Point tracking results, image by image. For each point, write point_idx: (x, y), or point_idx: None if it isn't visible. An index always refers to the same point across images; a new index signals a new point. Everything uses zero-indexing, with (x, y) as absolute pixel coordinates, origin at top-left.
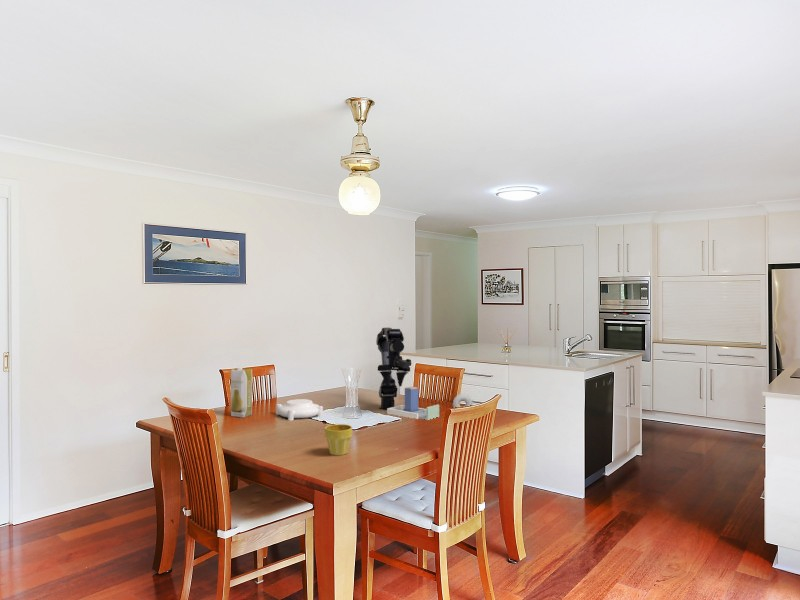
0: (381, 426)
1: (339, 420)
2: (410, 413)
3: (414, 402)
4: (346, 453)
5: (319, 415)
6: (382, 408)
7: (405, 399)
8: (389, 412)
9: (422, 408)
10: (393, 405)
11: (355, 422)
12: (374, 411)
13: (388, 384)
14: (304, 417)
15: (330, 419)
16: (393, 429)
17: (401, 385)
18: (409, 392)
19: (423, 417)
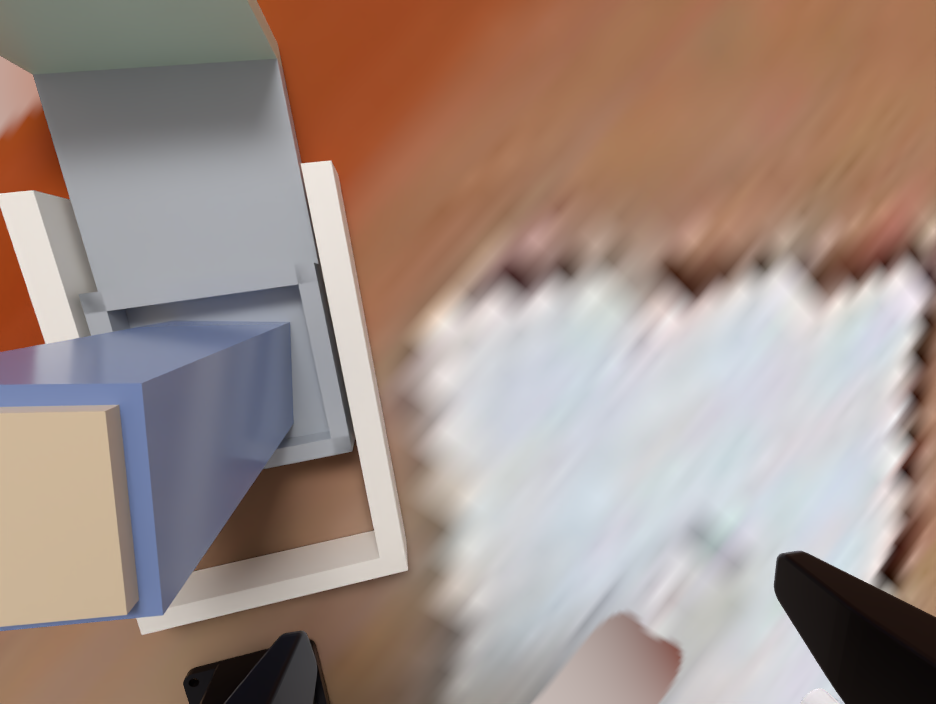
0: (754, 193)
1: (815, 540)
2: (350, 259)
3: (177, 336)
4: None
5: (837, 701)
6: (327, 700)
7: (249, 467)
8: (401, 520)
9: None
10: (226, 680)
11: (788, 427)
12: (436, 660)
13: (849, 578)
14: None
15: None
16: (762, 39)
17: (271, 649)
18: (188, 415)
19: (286, 105)
